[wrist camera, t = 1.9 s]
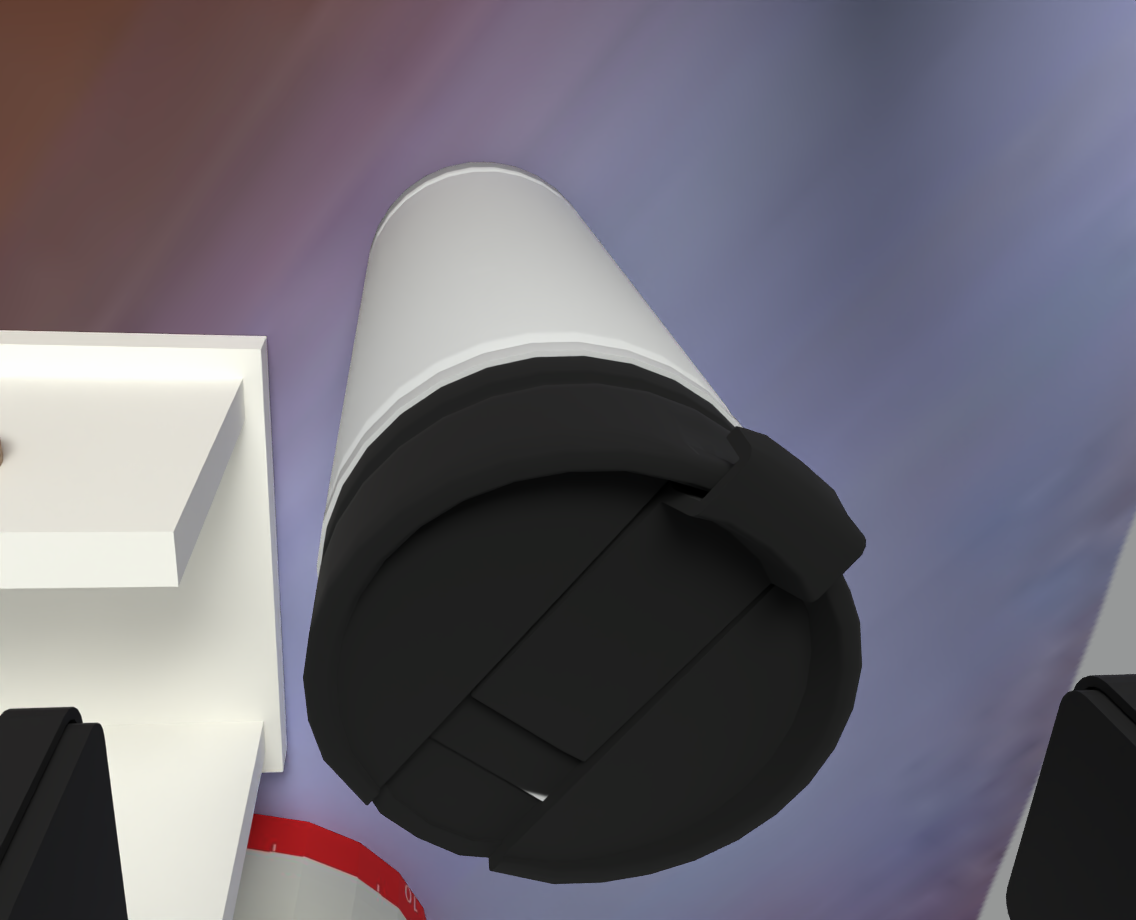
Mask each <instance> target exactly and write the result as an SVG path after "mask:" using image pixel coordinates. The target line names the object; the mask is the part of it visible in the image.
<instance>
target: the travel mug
mask: <svg viewBox="0 0 1136 920" xmlns="http://www.w3.org/2000/svg"><path fill="white" fill-rule="evenodd" d="M865 547H866V539H865V536H864V535H863V534H862V533H861V531H860V530H859V529H858V527H857V526H856V525H855V524H854V522H853V521H852V520H851V519H850V517H849V516H848V515H847V513H846V511H845V509H844V507H843V506H842V504H841V502H840V500H839V498H838V496H837V495H836V493H835V491H834V490H833V489H832V488H831V487H830V486H829V485H828V484H827V483H825V482H824V481H823V480H822V479H821V478H820V477H819V476H818V475H816V474H815V473H814V472H813V471H812V470H811V469H810V468H809V467H807V466H806V465H805V464H804V463H803V462H802V461H800V460H799V459H798V458H796V457H795V456H794V455H792V454H791V453H790V452H788V451H787V450H785V449H784V448H783V447H781V446H780V445H779V444H777V443H776V442H775V441H773V440H772V439H771V438H769V437H768V436H767V435H764V434H761V433H758V432H754V431H751V430H748V429H745V428H742V426H741V425H740V424H739V422H738V421H737V420H736V419H735V418H734V417H733V416H732V415H731V413H730V411H729V410H728V408H727V407H726V405H725V404H724V403H723V402H722V400H721V399H720V398H719V396H718V395H717V394H716V392H715V391H714V390H713V389H712V387H711V386H710V385H709V383H708V382H707V381H706V379H705V378H704V377H703V376H702V374H701V373H700V372H699V370H698V369H697V368H696V366H695V365H694V364H693V363H692V361H691V360H690V359H689V357H688V356H687V355H686V353H685V352H684V351H683V350H682V348H681V347H680V346H679V344H678V343H677V342H676V340H675V339H674V338H673V337H672V335H671V334H670V333H669V331H668V330H667V329H666V327H665V326H664V325H663V324H662V322H661V321H660V320H659V318H658V317H657V316H656V314H655V313H654V312H653V311H652V309H651V308H650V307H649V305H648V304H647V303H646V301H645V300H644V299H643V298H642V296H641V295H640V294H639V292H638V291H637V290H636V288H635V287H634V286H633V285H632V283H631V282H630V281H629V279H628V278H627V277H626V275H625V274H624V273H623V272H622V270H621V269H620V268H619V266H618V265H617V264H616V262H615V261H614V260H613V259H612V257H611V256H610V255H609V253H608V252H607V251H606V249H605V248H604V247H603V246H602V244H601V243H600V242H599V240H598V239H597V238H596V236H595V235H594V234H593V233H592V231H591V230H590V229H589V227H588V226H587V225H586V223H585V222H584V221H583V220H582V218H581V217H580V216H579V215H578V213H577V212H576V210H575V209H574V208H573V207H572V205H571V204H570V203H569V202H568V201H567V200H566V199H565V198H564V197H563V196H562V195H561V194H560V193H559V192H558V191H557V190H556V189H555V188H554V187H552V186H551V185H549V184H548V183H547V182H545V181H544V180H542V179H541V178H539V177H538V176H536V175H534V174H531V173H529V172H527V171H524V170H522V169H520V168H517V167H514V166H509V165H504V164H499V163H494V162H468V163H463V164H459V165H454V166H449V167H445V168H443V169H441V170H438V171H436V172H434V173H431V174H429V175H427V176H425V177H423V178H422V179H421V180H419V181H418V182H416V183H415V184H413V185H412V186H411V187H409V188H408V189H406V190H405V191H404V192H403V193H402V195H401V196H400V197H399V198H398V199H397V200H396V201H395V202H394V203H393V204H392V205H391V206H390V208H389V209H388V211H387V213H386V214H385V216H384V218H383V219H382V221H381V222H380V224H379V226H378V228H377V231H376V234H375V237H374V239H373V242H372V245H371V248H370V254H369V261H368V266H367V271H366V277H365V283H364V289H363V294H362V300H361V306H360V312H359V318H358V323H357V329H356V335H355V341H354V346H353V352H352V358H351V364H350V369H349V375H348V381H347V387H346V392H345V398H344V404H343V410H342V416H341V421H340V427H339V433H338V439H337V444H336V450H335V456H334V462H333V467H332V473H331V479H330V485H329V490H328V496H327V504H326V510H325V513H324V519H323V525H322V532H321V540H320V547H319V554H318V561H317V573H318V583H317V589H316V595H315V602H314V608H313V614H312V620H311V626H310V632H309V638H308V646H307V653H306V660H305V667H304V675H303V681H304V689H305V698H306V706H307V715H308V721H309V724H310V726H311V729H312V731H313V734H314V737H315V739H316V742H317V744H318V747H319V750H320V752H321V755H322V757H323V760H324V761H325V762H326V763H327V764H328V765H329V766H330V767H331V768H332V769H333V770H334V772H335V773H336V774H337V775H338V776H339V777H340V778H341V779H342V780H343V781H344V782H345V783H346V784H347V785H348V786H349V787H350V788H351V790H352V791H353V792H354V793H355V794H356V795H357V796H358V797H359V798H360V799H361V800H362V801H363V802H364V803H365V804H366V805H368V804H369V803H370V802H371V801H373V803H374V804H375V806H376V807H377V809H378V811H379V812H380V813H381V814H382V815H384V816H385V817H387V818H388V819H390V820H391V821H393V822H394V823H396V824H397V825H399V826H401V827H402V828H404V829H405V830H407V831H408V832H410V833H411V834H413V835H414V836H416V837H417V838H420V839H422V840H424V841H427V842H429V843H432V844H434V845H436V846H439V847H441V848H443V849H446V850H448V851H451V852H453V853H455V854H458V855H463V856H475V857H488V858H489V870H490V871H494V872H499V873H503V874H508V875H513V876H518V877H522V878H527V879H532V880H537V881H542V882H546V883H551V884H570V883H600V882H608V881H613V880H619V879H625V878H631V877H637V876H643V875H649V874H653V873H656V872H659V871H662V870H666V869H669V868H672V867H675V866H678V865H682V864H685V863H688V862H691V861H695V860H697V859H699V858H701V857H703V856H705V855H708V854H710V853H712V852H714V851H716V850H718V849H720V848H722V847H724V846H727V845H729V844H731V843H733V842H735V841H737V840H739V839H740V838H742V837H743V836H745V835H746V834H748V833H749V832H751V831H752V830H754V829H755V828H757V827H758V826H760V825H761V824H763V823H764V822H766V821H767V820H769V819H770V818H772V817H773V816H775V815H776V814H777V813H778V812H779V811H780V810H781V809H783V808H784V807H785V806H786V805H787V804H788V803H789V802H790V801H791V800H792V799H793V798H794V797H795V796H796V795H797V794H799V793H800V792H801V791H802V790H803V789H804V788H805V787H806V786H807V785H808V784H809V783H810V782H811V780H812V779H813V777H814V776H815V775H816V773H817V772H818V771H819V769H820V768H821V767H822V765H823V764H824V763H825V761H826V760H827V758H828V757H829V756H830V754H831V753H832V752H833V750H834V749H835V747H836V745H837V743H838V741H839V738H840V736H841V734H842V732H843V730H844V727H845V725H846V723H847V721H848V719H849V717H850V714H851V712H852V710H853V707H854V702H855V697H856V692H857V687H858V683H859V678H860V673H861V668H862V656H861V633H860V621H859V618H858V614H857V611H856V608H855V605H854V601H853V598H852V595H851V592H850V589H849V587H848V585H847V583H846V581H845V579H844V576H843V573H844V572H845V571H846V570H847V569H848V568H849V567H850V566H851V565H852V564H853V563H854V562H855V561H856V560H857V559H858V558H859V557H860V556H861V555H862V554H863V551H864V549H865Z"/></svg>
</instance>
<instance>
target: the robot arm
mask: <svg viewBox="0 0 1136 920" xmlns="http://www.w3.org/2000/svg"><path fill="white" fill-rule="evenodd" d="M1006 904H1007V909H1008V914H1009V917H1010V920H1136V674H1126V675H1095V676H1087V677H1084V678H1082V679H1081V680H1080V681H1079V682H1078V683H1077V684H1076V686H1075V688H1074V690H1073V691H1070V692H1068V693H1067V694H1066V695H1065V696H1064V697H1063V698H1062V701H1061V703H1060V706H1059V710H1058V713H1057V716H1056V720H1055V723H1054V727H1053V730H1052V734H1051V737H1050V741H1049V744H1048V748H1047V751H1046V755H1045V758H1044V762H1043V765H1042V769H1041V772H1040V776H1039V779H1038V783H1037V786H1036V790H1035V793H1034V797H1033V800H1032V804H1031V807H1030V811H1029V815H1028V817H1027V821H1026V824H1025V828H1024V831H1023V835H1022V838H1021V842H1020V845H1019V849H1018V852H1017V856H1016V859H1015V863H1014V866H1013V870H1012V873H1011V877H1010V880H1009V884H1008V887H1007V893H1006ZM0 920H128V915H127V907H126V899H125V892H124V884H123V876H122V868H121V860H120V852H119V845H118V837H117V829H116V821H115V813H114V806H113V798H112V790H111V782H110V774H109V767H108V759H107V751H106V743H105V736H104V731H103V728H102V726H101V724H100V723H98V722H97V723H83V721H82V716H81V714H80V712H79V710H78V709H77V708H75V707H46V708H13V709H8V710H5V711H4V712H3V713H2V714H1V716H0Z"/></svg>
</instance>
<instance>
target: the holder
mask: <svg viewBox="0 0 1136 920" xmlns="http://www.w3.org/2000/svg"><path fill="white" fill-rule="evenodd" d="M46 707H75V708H77V709H78V710H79V712H80V714H81V716H82V721H83V723H97V722H98V723H100V724H101V726H102V728H103V731H104V736H105V743H106V751H107V759H108V767H109V774H110V782H111V790H112V798H113V806H114V813H115V821H116V829H117V837H118V845H119V852H120V860H121V868H122V876H123V884H124V892H125V899H126V907H127V915H128V920H233V915H234V910H235V905H236V900H237V895H238V890H239V885H240V879H241V874H242V869H243V864H244V859H245V854H246V849H247V844H248V839H249V834H250V829H251V824H252V819H253V814H254V808H255V803H256V798H257V793H258V788H259V783H260V778H261V773H266V772H283V769H284V763H285V758H286V752H287V734H286V714H285V694H284V674H283V654H282V634H281V614H280V595H279V575H278V555H277V535H276V515H275V495H274V475H273V455H272V435H271V415H270V396H269V376H268V356H267V336H230V335H185V334H141V333H96V332H51V331H7V330H0V716H1V714H2V713H3V712H4V711H5V710H8V709H13V708H46Z"/></svg>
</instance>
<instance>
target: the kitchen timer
mask: <svg viewBox="0 0 1136 920" xmlns="http://www.w3.org/2000/svg"><path fill="white" fill-rule="evenodd" d="M233 920H426V917H425V913H424V909H423V907H422V906H421V904H420V903H419V901H418V900H417V898H416V897H415V895H414V894H413V893H412V891H411V890H410V888H409V887H408V885H407V884H406V882H405V881H404V879H403V878H402V876H401V875H400V873H399V872H398V871H396V870H395V869H394V868H392V867H391V866H390V865H388V864H387V863H386V862H384V861H383V860H382V859H381V858H379V857H378V856H377V855H375V854H374V853H373V852H371V851H370V850H369V849H367V848H366V847H365V846H364V845H362V844H361V843H359V842H357V841H354V840H352V839H350V838H347V837H345V836H342V835H340V834H337V833H335V832H332V831H330V830H327V829H325V828H322V827H320V826H317V825H315V824H313V823H310V822H306V821H299V820H293V819H286V818H279V817H273V816H266V815H260V814H253V819H252V824H251V829H250V834H249V839H248V844H247V849H246V854H245V859H244V864H243V869H242V874H241V879H240V885H239V890H238V895H237V900H236V905H235V910H234V915H233Z"/></svg>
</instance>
